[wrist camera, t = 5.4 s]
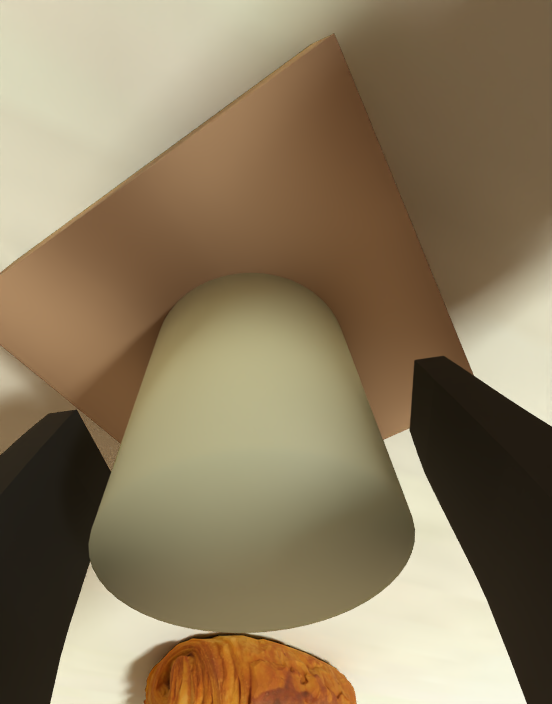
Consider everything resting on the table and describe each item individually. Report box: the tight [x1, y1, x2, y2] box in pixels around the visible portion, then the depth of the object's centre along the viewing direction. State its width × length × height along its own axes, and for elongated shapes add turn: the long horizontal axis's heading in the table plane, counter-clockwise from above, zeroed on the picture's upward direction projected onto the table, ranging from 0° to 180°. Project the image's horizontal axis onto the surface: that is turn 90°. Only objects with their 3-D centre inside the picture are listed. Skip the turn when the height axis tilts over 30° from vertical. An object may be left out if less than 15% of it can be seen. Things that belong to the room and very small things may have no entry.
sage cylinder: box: [89, 273, 415, 633], centre depth 9 cm, size 5×5×6 cm
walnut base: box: [0, 34, 473, 443], centre depth 12 cm, size 10×10×3 cm
